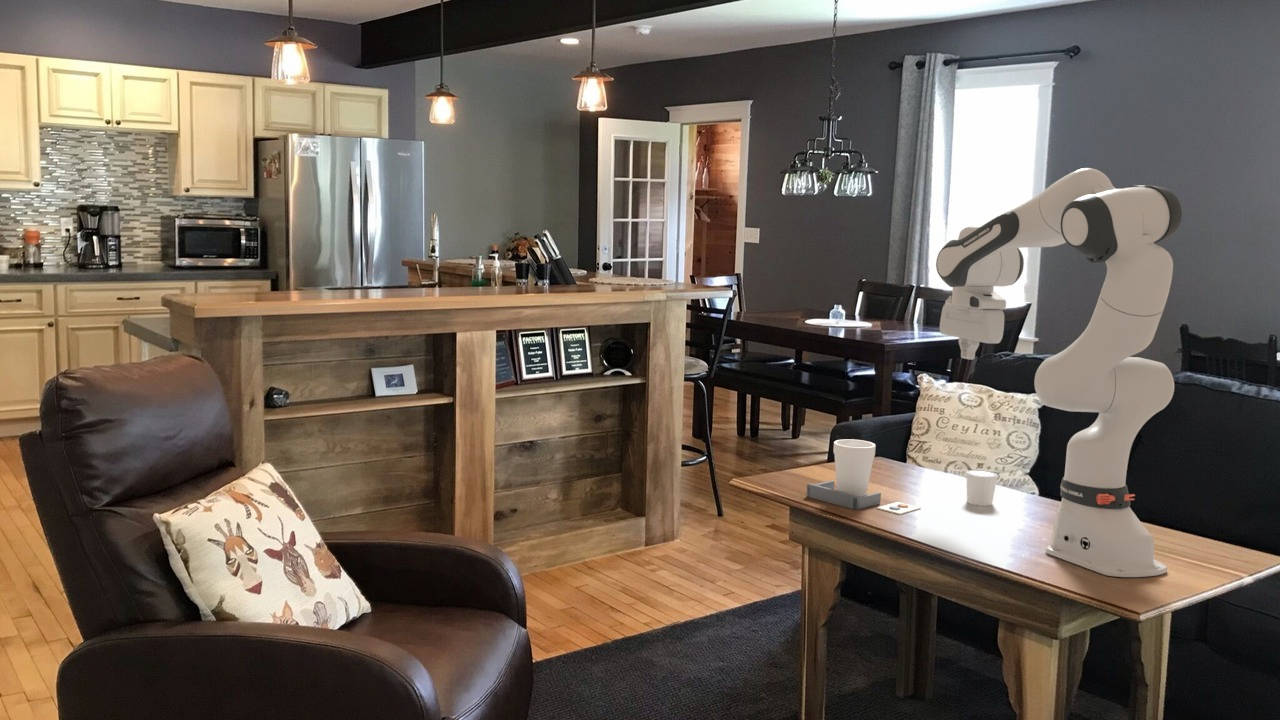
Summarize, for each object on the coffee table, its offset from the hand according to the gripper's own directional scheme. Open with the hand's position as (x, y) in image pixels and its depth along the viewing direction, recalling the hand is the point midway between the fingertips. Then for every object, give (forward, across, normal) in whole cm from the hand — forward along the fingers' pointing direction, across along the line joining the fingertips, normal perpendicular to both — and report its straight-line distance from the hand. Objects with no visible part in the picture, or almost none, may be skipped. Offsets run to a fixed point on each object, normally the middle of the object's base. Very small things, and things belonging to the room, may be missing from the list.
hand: (967, 358), depth 242 cm
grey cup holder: (+33, -4, -27) cm, 43 cm away
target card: (+33, +5, -18) cm, 38 cm away
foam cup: (+33, -5, -25) cm, 42 cm away
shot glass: (+33, +3, +4) cm, 34 cm away
